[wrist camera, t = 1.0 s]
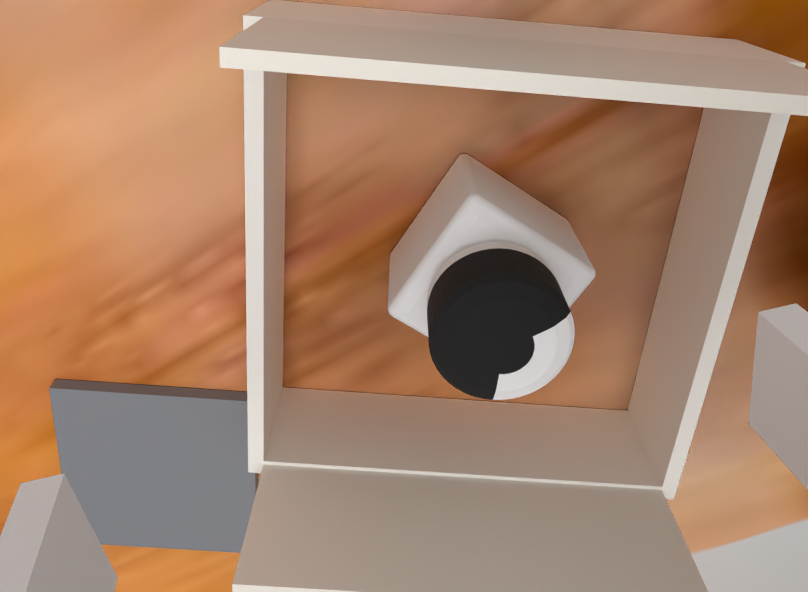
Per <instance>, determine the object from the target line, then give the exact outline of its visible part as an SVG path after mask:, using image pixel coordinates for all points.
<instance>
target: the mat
mask: <svg viewBox="0 0 808 592" xmlns="http://www.w3.org/2000/svg"><path fill="white" fill-rule="evenodd" d="M49 391H50V398H51V405H52V411H53V418H54V425H55V432H56V439H57V446H58V453H59V459H60V466H61V473H62V474H65V476H66V478H67V480H68V482H69V484H70V486H71V488H72V490H73V491H74V493H75V495H76V497H77V499H78V501H79V503H80V505H81V507H82V509H83V511H84V513H85V515H86V517H87V519H88V521H89V522H90V524H91V526H92V528H93V530H94V532H95V534H96V536H97V538H98V540H99V542H100V544H104V545H120V546H137V547H154V548H170V549H187V550H204V551H220V552H237V553H241V549H242V545H243V542H244V538H245V534H246V530H247V526H248V522H249V518H250V514H251V511H252V507H253V503H254V499H255V495H256V491H257V487H258V473H250V472H248V413H247V392H242V391H227V390H212V389H198V388H183V387H168V386H153V385H138V384H124V383H109V382H94V381H79V380H64V379H56V380H55V381H54V382H53V384H52V385H51V386H50V388H49Z"/></svg>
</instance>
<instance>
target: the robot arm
mask: <svg viewBox="0 0 808 592" xmlns="http://www.w3.org/2000/svg"><path fill="white" fill-rule="evenodd" d="M748 424H749V425H750V426H751V427H752V428H753V429H754V431H755V432H756V433H757V434H758V435H759V436H760V437H761V438H762V440H763V441H764V442H765V443H766V444H767V445H768V446H769V447H770V448H771V450H772V451H773V452H774V453H775V454H776V455H777V456H778V457H779V459H780V460H781V461H782V462H783V463H784V464H785V465H786V466H787V467H788V469H789V470H790V471H791V472H792V473H793V474H794V475H795V476H796V478H797V479H798V480H799V481H800V482H801V483H802V484H803V485H804V486H805V488H806V489H807V490H808V312H807V311H805V310H804V309H803V308H802V307H800V306H799V305H798V304H797V303H795V304H791V305H786V306H782V307H778V308H773V309H769V310H765V311H761V312H758V321H757V332H756V344H755V355H754V366H753V377H752V389H751V400H750V411H749V422H748ZM116 582H117V575H116V573H115V571H114V569H113V567H112V565H111V563H110V561H109V559H108V557H107V555H106V554H105V552H104V550H103V548H102V546H101V544H100V542H99V540H98V538H97V536H96V534H95V532H94V530H93V528H92V526H91V524H90V522H89V521H88V519H87V517H86V515H85V513H84V511H83V509H82V507H81V505H80V503H79V501H78V499H77V497H76V495H75V493H74V491H73V490H72V488H71V486H70V484H69V482H68V480H67V478H66V476H65V474H60V475H55V476H51V477H47V478H42V479H38V480H34V481H30V482H25V483H21V485H20V487H19V490H18V492H17V495H16V497H15V500H14V503H13V505H12V508H11V510H10V513H9V515H8V518H7V520H6V523H5V525H4V528H3V531H2V533H1V536H0V592H115V587H116Z"/></svg>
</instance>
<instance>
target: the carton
mask: <svg viewBox="0 0 808 592" xmlns="http://www.w3.org/2000/svg"><path fill="white" fill-rule="evenodd" d="M219 51H220V67H221V68H233V69H244V140H245V231H246V322H247V413H248V472H250V473H261V476H260V480H259V484H258V487H257V491H256V495H255V499H254V503H253V507H252V511H251V514H250V518H249V522H248V526H247V530H246V534H245V538H244V542H243V545H242V549H241V553H240V557H239V561H238V565H237V569H236V572H235V576H234V580H233V584H232V586H233V592H708V591H707V588H706V586H705V584H704V582H703V580H702V577H701V575H700V573H699V571H698V569H697V567H696V564H695V562H694V560H693V558H692V556H691V553H690V551H689V549H688V547H687V545H686V542H685V540H684V538H683V536H682V534H681V531H680V529H679V527H678V525H677V523H676V520H675V518H674V516H673V514H672V512H671V509H670V507H669V505H668V503H667V501H666V499H673V500H674V497H675V494H676V490H677V487H678V484H679V481H680V477H681V474H682V471H683V467H684V464H685V461H686V457H687V454H688V451H689V448H690V444H691V441H692V438H693V434H694V431H695V428H696V424H697V421H698V418H699V415H700V411H701V408H702V405H703V401H704V398H705V395H706V391H707V388H708V385H709V382H710V378H711V375H712V372H713V368H714V365H715V362H716V358H717V355H718V352H719V349H720V345H721V342H722V339H723V335H724V332H725V329H726V325H727V322H728V319H729V316H730V312H731V309H732V306H733V302H734V299H735V296H736V292H737V289H738V286H739V283H740V279H741V276H742V273H743V269H744V266H745V263H746V259H747V256H748V253H749V250H750V246H751V243H752V240H753V236H754V233H755V230H756V226H757V223H758V220H759V217H760V213H761V210H762V207H763V203H764V200H765V197H766V193H767V190H768V187H769V184H770V180H771V177H772V174H773V170H774V167H775V164H776V160H777V157H778V154H779V151H780V147H781V144H782V141H783V137H784V134H785V131H786V127H787V124H788V121H789V118H790V115H802V116H808V69H805V65H806V63H803V62H801V61H798V60H795V59H792V58H789V57H786V56H783V55H780V54H778V53H775V52H772V51H769V50H766V49H763V48H760V47H757V46H755V45H752V44H749V43H746V42H743V41H740V40H737V39H725V38H714V37H702V36H690V35H679V34H667V33H655V32H644V31H632V30H621V29H609V28H597V27H586V26H574V25H563V24H551V23H539V22H528V21H516V20H505V19H493V18H481V17H470V16H458V15H446V14H435V13H423V12H412V11H400V10H388V9H377V8H365V7H354V6H342V5H330V4H319V3H307V2H296V1H284V0H269V1H267V2H266V3H264V4H262V5H260V6H259V7H257V8H255V9H253V10H252V11H250V12H248V13H246V14H245V15H243V31H242V32H241V33H239V34H238V35H236V36H235V37H233V38H232V39H230V40H229V41H227V42H226V43H224V44H223V45H221V46H220V47H219ZM287 73H294V74H306V75H318V76H330V77H342V78H354V79H366V80H379V81H391V82H403V83H415V84H427V85H439V86H451V87H463V88H475V89H487V90H499V91H511V92H524V93H536V94H548V95H560V96H572V97H584V98H596V99H608V100H620V101H632V102H644V103H657V104H669V105H681V106H693V107H704V109H703V113H702V117H701V121H700V125H699V129H698V133H697V137H696V141H695V145H694V149H693V153H692V157H691V161H690V165H689V169H688V173H687V177H686V181H685V184H684V188H683V192H682V196H681V200H680V204H679V208H678V212H677V216H676V220H675V224H674V228H673V232H672V236H671V240H670V244H669V248H668V252H667V256H666V260H665V264H664V268H663V272H662V276H661V280H660V284H659V288H658V292H657V295H656V299H655V303H654V307H653V311H652V315H651V319H650V323H649V327H648V331H647V335H646V339H645V343H644V347H643V351H642V355H641V359H640V363H639V367H638V371H637V375H636V379H635V383H634V387H633V391H632V395H631V399H630V403H629V407H628V410H627V411H625V410H610V409H595V408H581V407H566V406H551V405H537V404H522V403H507V402H492V401H478V400H463V399H448V398H433V397H419V396H404V395H389V394H375V393H360V392H345V391H330V390H316V389H301V388H286V387H283V331H284V255H285V179H286V104H287Z"/></svg>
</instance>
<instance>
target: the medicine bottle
mask: <svg viewBox="0 0 808 592" xmlns="http://www.w3.org/2000/svg"><path fill="white" fill-rule="evenodd" d="M594 277H595V269H594V267H593V265H592V264H591V262H590V260H589V258H588V256H587V255H586V253H585V251H584V249H583V247H582V246H581V244H580V242H579V240H578V238H577V236H576V235H575V233H574V231H573V229H572V227H571V226H570V224H569V222H568V221H567V219H566V218H564V217H563V216H561V215H559V214H558V213H556V212H555V211H553V210H552V209H550V208H549V207H547V206H546V205H544V204H543V203H541V202H540V201H538V200H537V199H535V198H534V197H532V196H530V195H529V194H527V193H526V192H524V191H523V190H521V189H520V188H518V187H517V186H515V185H514V184H512V183H511V182H509V181H508V180H506V179H505V178H503V177H502V176H500V175H498V174H497V173H495V172H494V171H492V170H491V169H489V168H488V167H486V166H485V165H483V164H482V163H480V162H479V161H477V160H476V159H474V158H473V157H471V156H469V155H468V154H461V155H460V156H459V157H458V158H457V159H456V161H455V162H454V163H453V165H452V166H451V168H450V169H449V171H448V172H447V173H446V175H445V176H444V178H443V179H442V181H441V182H440V183H439V185H438V186H437V188H436V189H435V191H434V192H433V194H432V195H431V196H430V198H429V199H428V201H427V202H426V204H425V205H424V206H423V208H422V209H421V211H420V212H419V214H418V215H417V216H416V218H415V219H414V221H413V222H412V224H411V225H410V226H409V228H408V229H407V231H406V232H405V234H404V235H403V236H402V238H401V239H400V241H399V242H398V244H397V245H396V246H395V248H394V249H393V251H392V252H391V254H390V268H389V292H388V312H389V314H390V315H391V316H392V317H394V318H396V319H397V320H399V321H401V322H403V323H404V324H406V325H408V326H410V327H411V328H413V329H415V330H417V331H418V332H420V333H422V334H423V335H425V336H427V337H428V339H429V348H430V354H431V357H432V360H433V362H434V364H435V366H436V368H437V370H438V371H439V372H440V374H441V375H442V376H443V377H444V378H445V379H446V380H447V381H448V382H449V383H450V384H451V385H453V386H454V387H455V388H457V389H458V390H460V391H462V392H464V393H466V394H469V395H471V396H474V397H478V398H482V399H490V400H505V399H513V398H517V397H521V396H524V395H527V394H530V393H532V392H534V391H536V390H538V389H540V388H541V387H543V386H545V385H546V384H548V383H549V382H550V381H551V380H552V379H554V378H555V377H556V375H557V374H558V373H559V372H560V371H561V370H562V368H563V367H564V365H565V364H566V362H567V360H568V358H569V357H570V354H571V351H572V348H573V344H574V338H575V328H574V321H573V317H572V314H571V311H570V309H569V308H570V307H571V305H572V304H573V303H574V302H575V301H576V299H577V298H578V297H579V296H580V295H581V293H582V292H583V291H584V290H585V289H586V287H587V286H588V285H589V284H590V283H591V282H592V280H593V279H594Z"/></svg>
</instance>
